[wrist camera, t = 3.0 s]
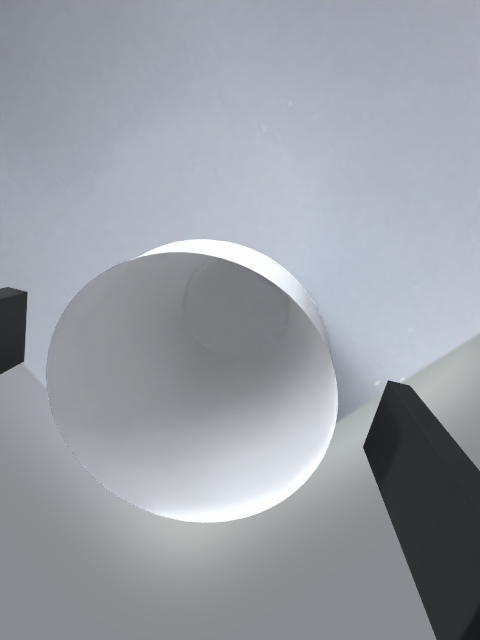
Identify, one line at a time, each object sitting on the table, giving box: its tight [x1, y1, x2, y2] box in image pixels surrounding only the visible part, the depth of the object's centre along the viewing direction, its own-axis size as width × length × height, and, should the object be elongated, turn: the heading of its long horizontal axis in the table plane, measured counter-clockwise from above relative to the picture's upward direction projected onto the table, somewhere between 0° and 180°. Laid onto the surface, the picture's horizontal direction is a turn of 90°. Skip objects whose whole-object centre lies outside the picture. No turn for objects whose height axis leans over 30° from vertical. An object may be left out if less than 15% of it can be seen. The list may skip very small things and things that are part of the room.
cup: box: [46, 240, 338, 522], centre depth 16 cm, size 9×9×12 cm
